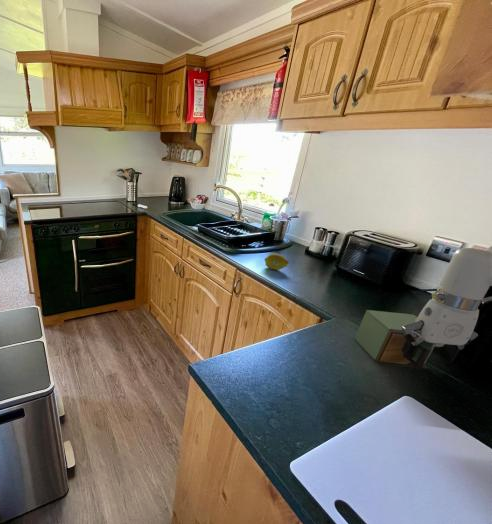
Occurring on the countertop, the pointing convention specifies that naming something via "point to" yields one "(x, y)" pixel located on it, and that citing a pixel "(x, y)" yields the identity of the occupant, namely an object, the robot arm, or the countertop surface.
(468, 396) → the countertop surface
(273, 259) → the lemon
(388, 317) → the cupboard
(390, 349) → the sliding door
